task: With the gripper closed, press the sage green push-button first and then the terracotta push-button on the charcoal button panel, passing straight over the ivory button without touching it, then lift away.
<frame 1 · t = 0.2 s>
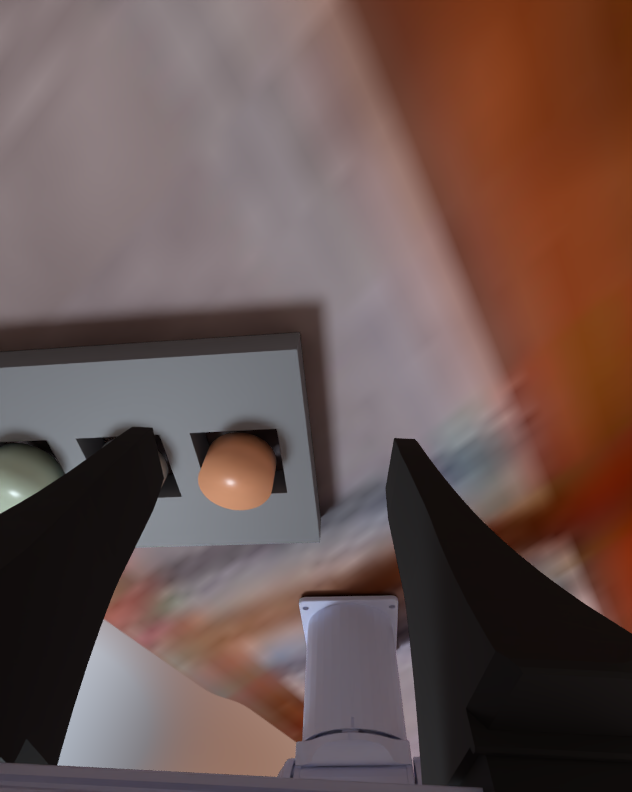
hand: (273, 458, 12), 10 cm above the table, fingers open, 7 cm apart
ivory button: (126, 476, 23), point 3 cm above the table, slide at 0.0 cm
green button: (19, 480, 24), point 3 cm above the table, slide at 0.0 cm
terracotta button: (238, 471, 23), point 3 cm above the table, slide at 0.0 cm
button panel: (144, 447, 25), on the table
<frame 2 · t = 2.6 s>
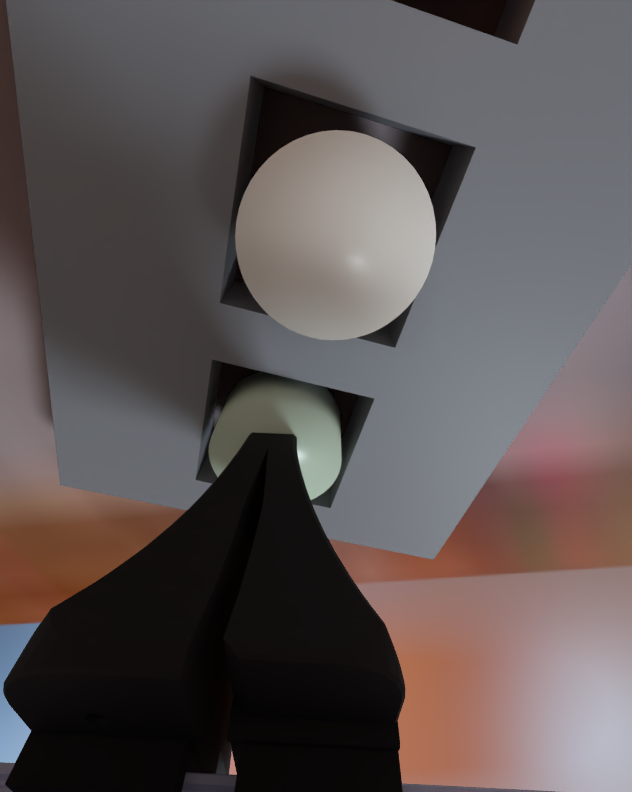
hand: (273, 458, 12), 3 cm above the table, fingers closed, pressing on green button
ivory button: (334, 238, 9), point 3 cm above the table, slide at 0.0 cm
green button: (278, 438, 13), point 2 cm above the table, slide at 0.8 cm, touching gripper
button panel: (333, 219, 11), on the table
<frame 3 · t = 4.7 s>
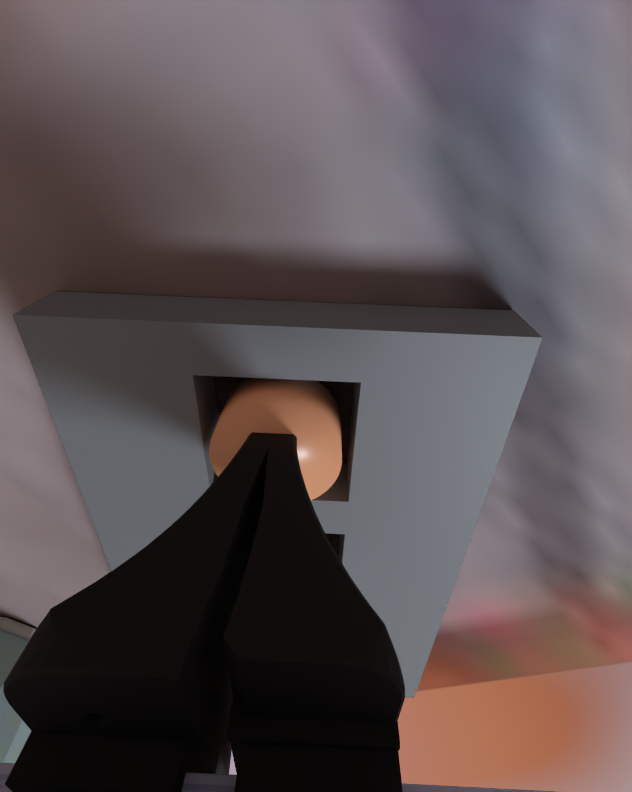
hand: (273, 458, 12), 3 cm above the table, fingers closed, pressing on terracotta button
terracotta button: (279, 438, 13), point 2 cm above the table, slide at 0.9 cm, touching gripper
button panel: (286, 530, 18), on the table
disposable coffee cup: (3, 636, 24), on the table
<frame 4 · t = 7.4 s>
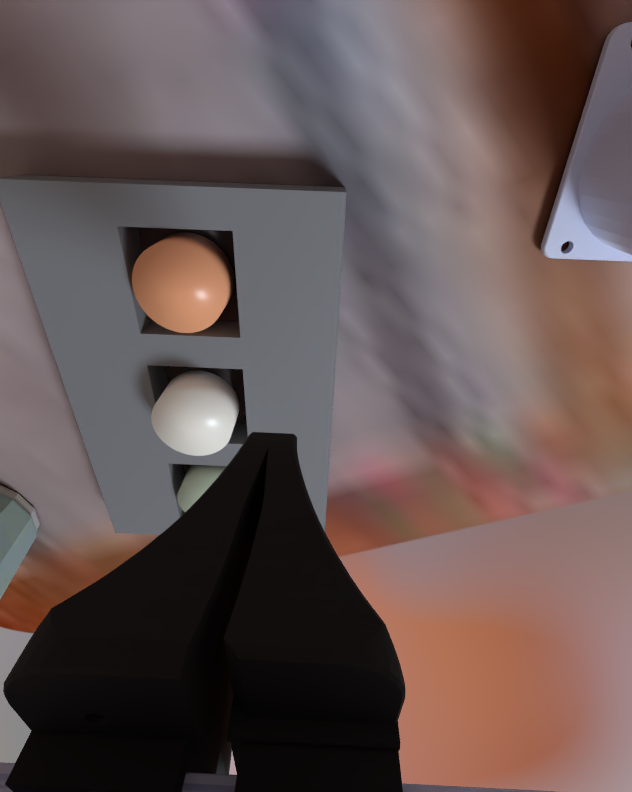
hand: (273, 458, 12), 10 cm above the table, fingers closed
ivory button: (197, 413, 21), point 3 cm above the table, slide at 0.0 cm
green button: (214, 490, 25), point 2 cm above the table, slide at 1.0 cm
terracotta button: (185, 283, 18), point 2 cm above the table, slide at 1.0 cm
button panel: (210, 387, 23), on the table
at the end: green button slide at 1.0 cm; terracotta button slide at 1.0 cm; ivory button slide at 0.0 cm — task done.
